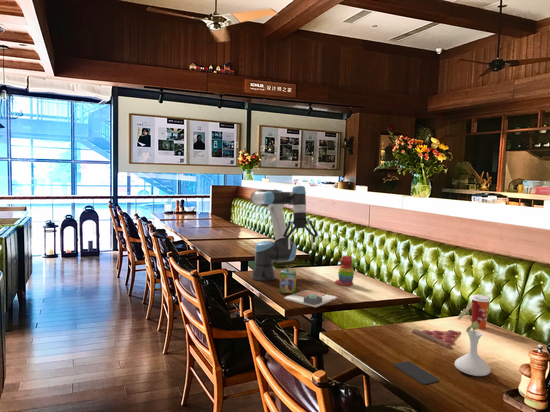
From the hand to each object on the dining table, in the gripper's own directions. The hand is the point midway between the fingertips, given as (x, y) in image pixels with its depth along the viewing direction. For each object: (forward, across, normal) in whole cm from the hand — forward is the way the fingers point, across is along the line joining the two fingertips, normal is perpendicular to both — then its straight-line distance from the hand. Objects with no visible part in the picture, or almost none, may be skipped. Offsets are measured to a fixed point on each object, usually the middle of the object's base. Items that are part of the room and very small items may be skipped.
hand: (301, 249), depth 242 cm
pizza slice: (+39, +67, -49) cm, 92 cm away
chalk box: (+24, -8, -3) cm, 25 cm away
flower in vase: (+44, +69, -82) cm, 115 cm away
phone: (+44, +50, -88) cm, 110 cm away
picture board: (+27, +6, -14) cm, 31 cm away
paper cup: (+38, +85, -33) cm, 98 cm away
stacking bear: (+23, +24, +23) cm, 40 cm away
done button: (+26, +9, -23) cm, 36 cm away
